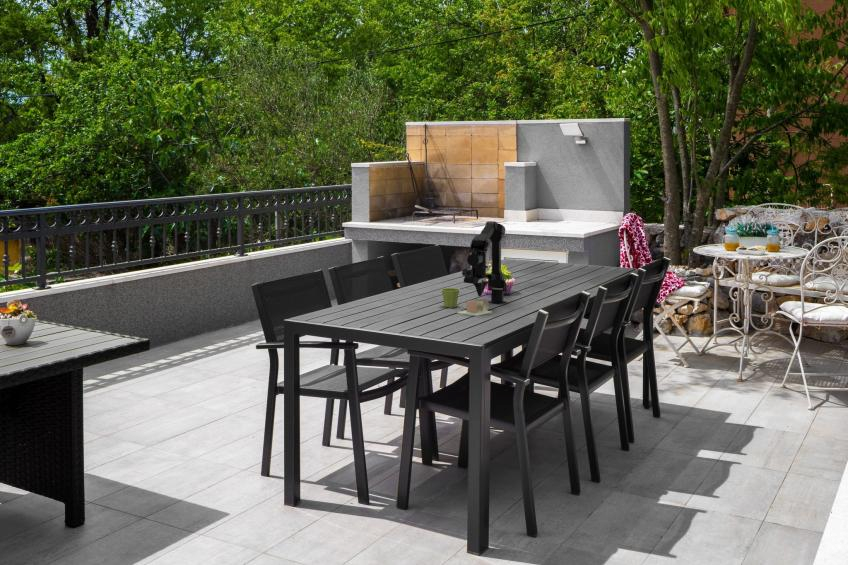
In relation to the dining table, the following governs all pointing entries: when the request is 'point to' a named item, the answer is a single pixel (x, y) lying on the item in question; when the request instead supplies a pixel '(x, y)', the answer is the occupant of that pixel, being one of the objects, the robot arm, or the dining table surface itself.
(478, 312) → the sage mat
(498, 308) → the dining table surface
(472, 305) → the birch block
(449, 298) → the plant pot
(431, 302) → the dining table surface
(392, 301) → the dining table surface
